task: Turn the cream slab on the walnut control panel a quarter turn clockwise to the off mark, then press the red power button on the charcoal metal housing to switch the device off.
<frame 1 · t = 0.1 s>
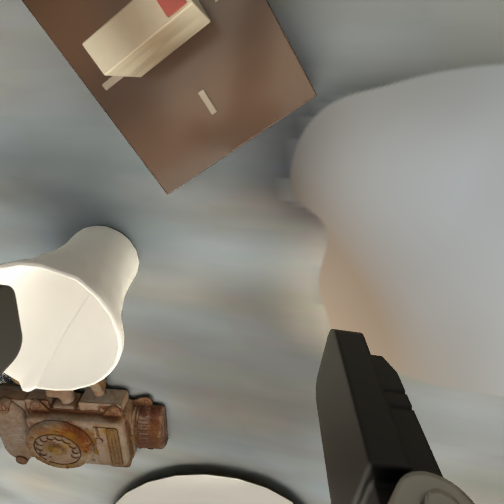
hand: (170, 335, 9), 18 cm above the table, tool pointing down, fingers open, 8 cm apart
cream slab: (152, 31, 18), point 6 cm above the table, hinge at 90.0°
cup: (110, 259, 30), on the table
telephone: (9, 385, 36), on the table
panel: (178, 43, 23), on the table
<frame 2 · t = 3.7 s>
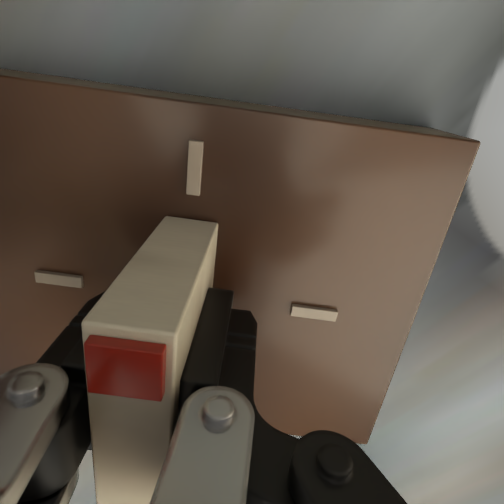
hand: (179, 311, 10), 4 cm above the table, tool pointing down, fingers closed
cream slab: (164, 352, 9), point 6 cm above the table, hinge at 89.9°, touching gripper
panel: (203, 253, 14), on the table
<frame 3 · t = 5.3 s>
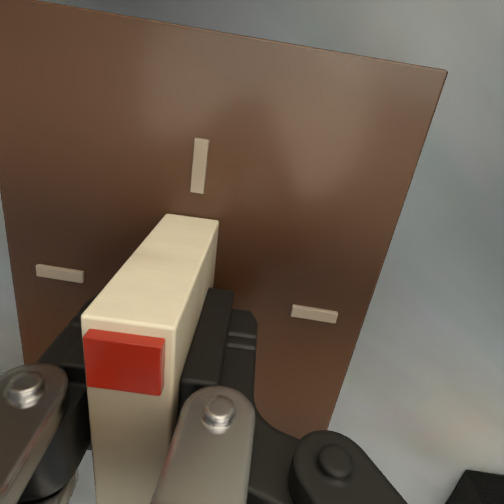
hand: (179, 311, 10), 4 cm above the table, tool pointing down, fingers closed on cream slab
cream slab: (165, 349, 9), point 6 cm above the table, hinge at 1.5°, touching gripper
panel: (205, 252, 14), on the table
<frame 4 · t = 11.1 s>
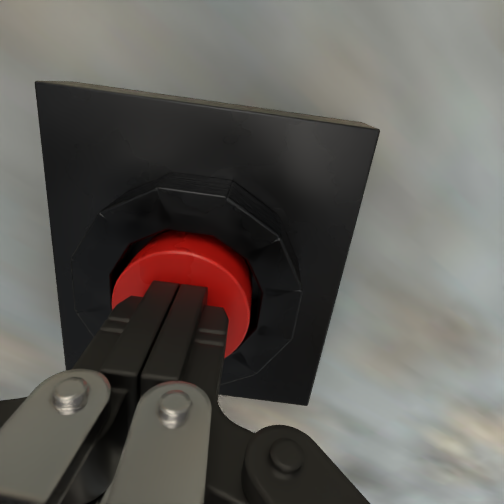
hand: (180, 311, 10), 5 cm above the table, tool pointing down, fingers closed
button: (186, 298, 11), point 4 cm above the table, slide at -0.6 cm, touching gripper
housing: (206, 248, 15), on the table
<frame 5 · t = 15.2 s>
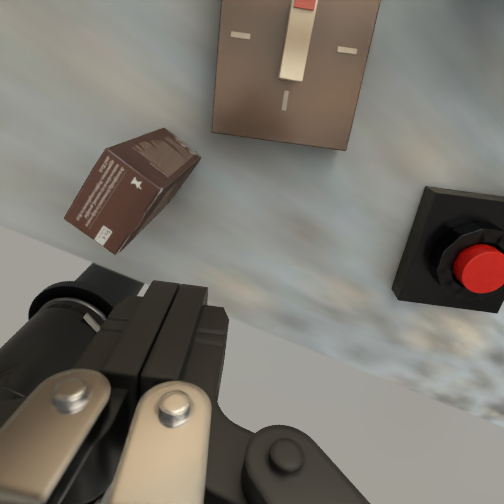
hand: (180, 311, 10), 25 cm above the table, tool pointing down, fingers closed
cream slab: (296, 39, 24), point 6 cm above the table, hinge at -1.6°
button: (481, 268, 32), point 4 cm above the table, slide at 0.1 cm
housing: (457, 247, 36), on the table
panel: (291, 46, 29), on the table
box: (164, 166, 34), on the table
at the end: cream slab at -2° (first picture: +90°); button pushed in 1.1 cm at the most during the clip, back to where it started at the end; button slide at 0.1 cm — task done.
